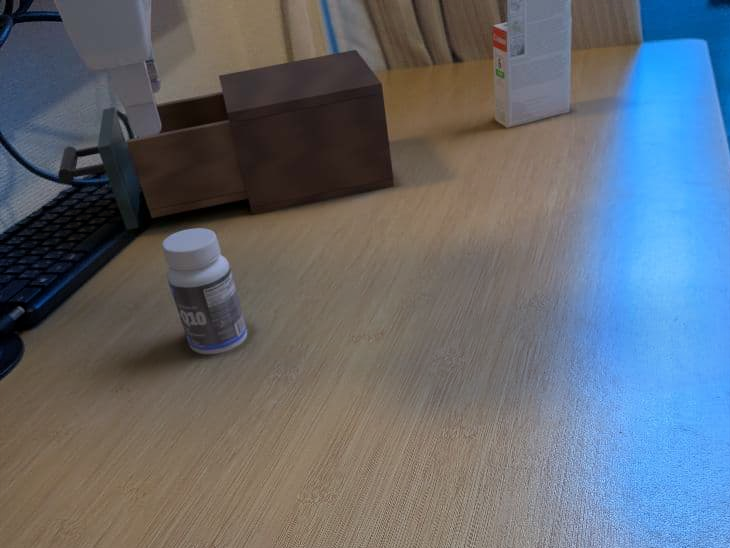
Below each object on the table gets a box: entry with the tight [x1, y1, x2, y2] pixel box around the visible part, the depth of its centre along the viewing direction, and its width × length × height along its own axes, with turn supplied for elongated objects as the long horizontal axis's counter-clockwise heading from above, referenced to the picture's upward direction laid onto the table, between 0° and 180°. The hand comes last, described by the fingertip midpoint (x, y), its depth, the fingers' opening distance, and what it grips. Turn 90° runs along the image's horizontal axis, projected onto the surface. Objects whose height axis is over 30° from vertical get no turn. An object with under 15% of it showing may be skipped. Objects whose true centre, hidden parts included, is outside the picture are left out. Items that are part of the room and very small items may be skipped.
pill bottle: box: [161, 227, 248, 355], centre depth 63 cm, size 5×5×8 cm
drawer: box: [57, 91, 248, 231], centre depth 84 cm, size 18×13×8 cm
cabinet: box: [218, 49, 395, 216], centre depth 85 cm, size 15×14×10 cm
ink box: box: [492, 0, 573, 129], centre depth 90 cm, size 4×8×15 cm, turn 109°
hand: (149, 110), depth 54 cm, fingers open, 8 cm apart
